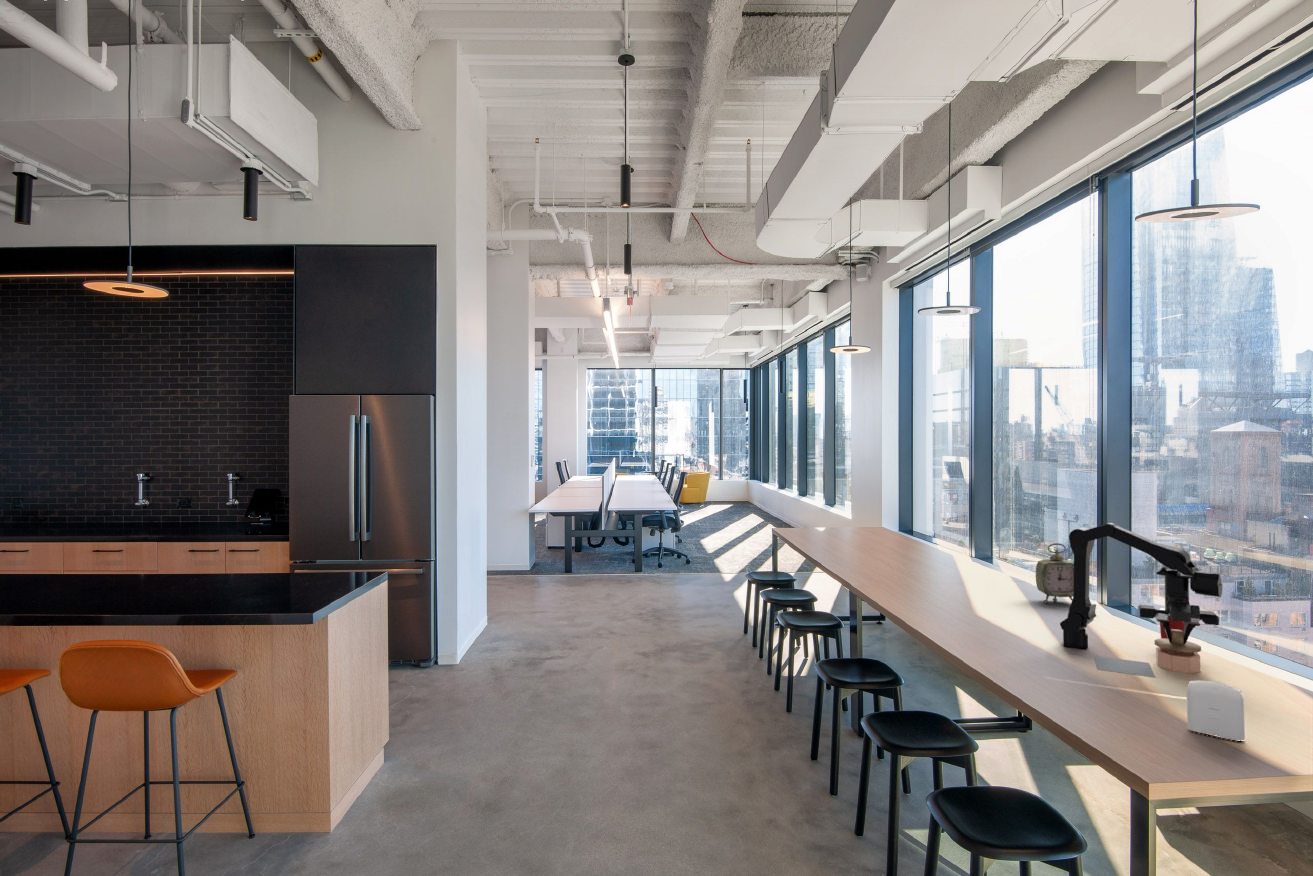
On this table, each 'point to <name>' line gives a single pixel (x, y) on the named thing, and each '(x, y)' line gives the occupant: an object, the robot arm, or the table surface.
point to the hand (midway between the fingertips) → (1177, 643)
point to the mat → (1124, 666)
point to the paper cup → (1171, 626)
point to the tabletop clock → (1055, 576)
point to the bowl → (1178, 660)
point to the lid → (1177, 643)
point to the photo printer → (1215, 709)
